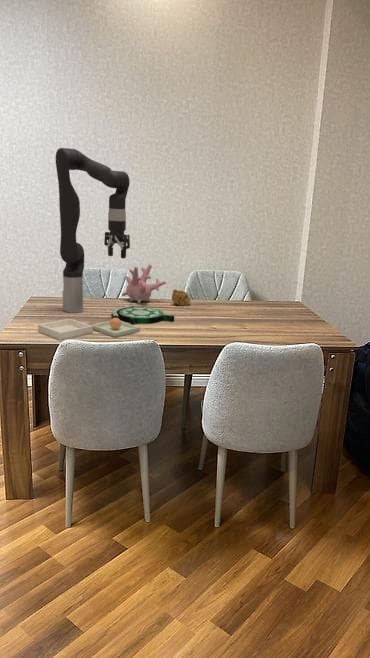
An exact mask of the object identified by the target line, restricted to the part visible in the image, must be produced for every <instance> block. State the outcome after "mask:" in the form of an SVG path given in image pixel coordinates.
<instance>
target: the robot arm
mask: <svg viewBox="0 0 370 658" xmlns="http://www.w3.org/2000/svg"><path fill="white" fill-rule="evenodd" d="M55 166H56V167H55V168H56V175H57V180H58V183H57V184H58V195H59V196H58V197H59V199H58V201H59V202H58V203H59V220H60V223H59V225H60V247H59V254H60V257H61V259H62V261H63V262H65V267H64V268H63V271H62V277H63V278H62V283H63V285H62V288H63V289H62V311H64V312H65V313H69V314H71V313H72V314H74V313H82V312H83V311H84V285H83V284H84V278H83V277H84V275H83V274H84V271H85V250H84V247H83V246H82V244H81V243H79V242H77V229H78V226H79V222H80V217H81V202H80V198H79V195H78V193H77V192H76V190H75V187H74V186H73V184H72V182H71V176H70V175H71V174H70V171H82V172H83V171H84V172H85V173H87V175H88V176H89V177H91V178H92V179H94V180H96V181H99V182H101V183H102V184H104V186H106V187H107V188H110V189H115V192H114V193H112V194H110V195H109V197H108V214H107V215H108V216H107V217H108V218H107V219H108V220H107V221H108V222H107V223H108V226H107V227H108V228H107V229H108V231H105V232H104V243H103V245H104V246H106V247H107V255H108V257H113V256H114V245H115V244H116V245H118V246H119V247H120V258H121V259H126V257H127V250H128V249H130V248H131V242H130V241H131V240H130V239H131V237H130V235H131V234H129V233H128V234H125V232H126V230H127V228H126V227H127V212H126V199H127V196H128V192H129V188H130V183H131V181H130V176H129V174H128V173H127V172H126V171H121V170H112V169H111V167H110V166H108V165H105V164H103V163H101V162H98V161H96V160H93V159H91V158H90V157H88V156H86V155H85V154H83V152H81V151H79V150H77V149H75V148H69V147H68V148H67V147H59V148H58V149H57V150H56V153H55Z"/></svg>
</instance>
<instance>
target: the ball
mask: <svg viewBox="0 0 370 658" xmlns="http://www.w3.org/2000/svg"><path fill="white" fill-rule="evenodd" d="M109 321H110V326H111V328H113V329H119V328H120V327H121V320H120V319H119V318H113V319H111V318H110V320H109Z"/></svg>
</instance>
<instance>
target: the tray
mask: <svg viewBox="0 0 370 658" xmlns="http://www.w3.org/2000/svg"><path fill="white" fill-rule="evenodd" d="M110 321H111V320H107V321H103V322H98V323H94V324H93V323H92V324H90V325H91V326H93V331H96V332H98V333H100V332H101V334H103V333H104V335H106V334H107V336H110V337H112V338H114V337H115V338H119V337H124V336H128V335H132V334H136V333H140V332H141V326H137V325H136V324H134V325H132V324H130V323H127V322H123V321H121V327H120V328H119V329H113V328H111V326H110Z"/></svg>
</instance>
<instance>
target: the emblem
mask: <svg viewBox="0 0 370 658" xmlns="http://www.w3.org/2000/svg"><path fill="white" fill-rule="evenodd" d="M134 306H135V305H127V306H122V307H118V308H115V309H113V310H112V313H111V314H110V315H111V316H110V317H111V318H110V320H111V319H113V318H118V319H120V320H121V321H122V322H125V323H128V324H132V325H137V324H138V325H151V324H157V323H160V322H169V323H172V322H173V323H174V322H175V315H173V314H170V315H169V314H164V312H163V311H162V310H160V309H157V308H153V307H146V306H145V307H144V306H141V307H140V306H135V307H134Z"/></svg>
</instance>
